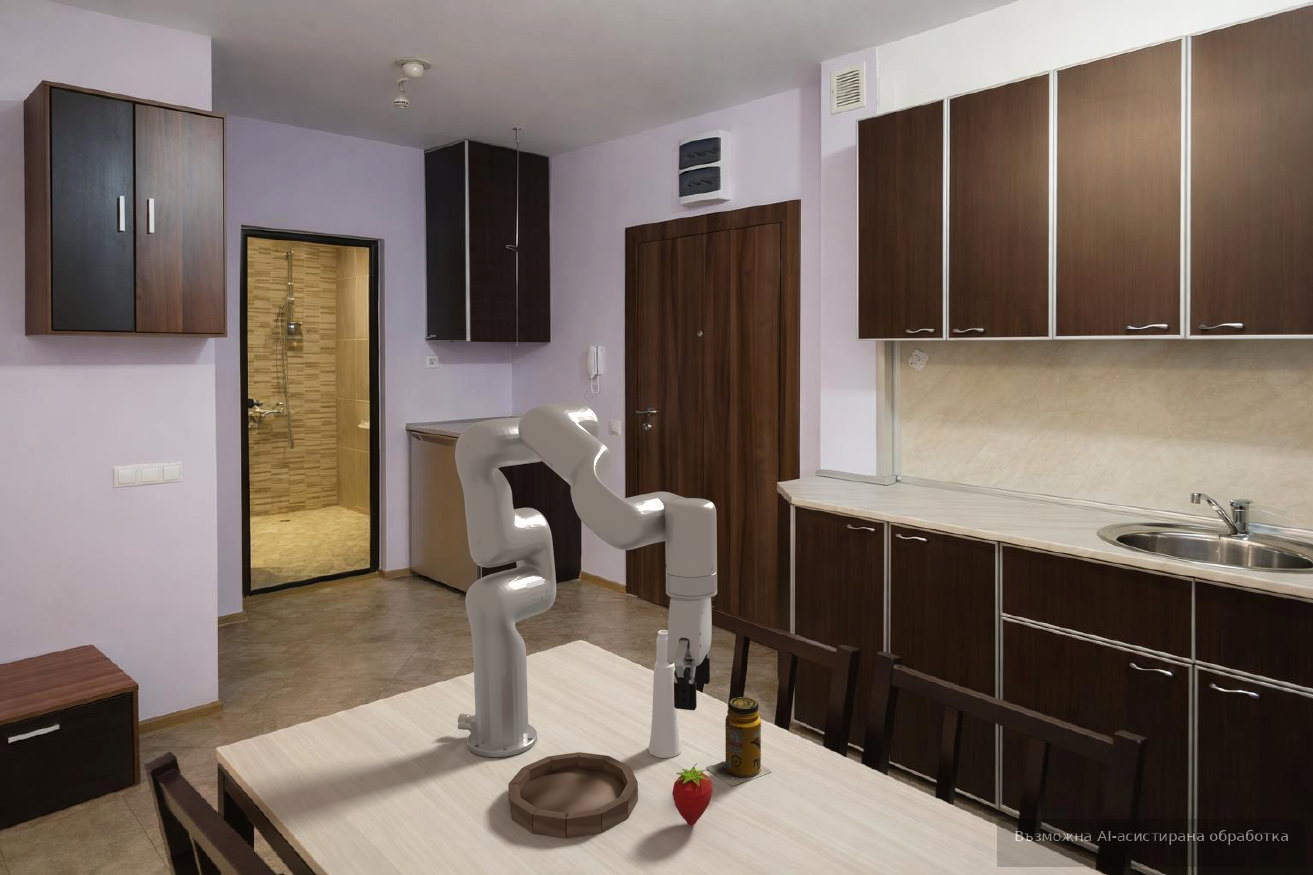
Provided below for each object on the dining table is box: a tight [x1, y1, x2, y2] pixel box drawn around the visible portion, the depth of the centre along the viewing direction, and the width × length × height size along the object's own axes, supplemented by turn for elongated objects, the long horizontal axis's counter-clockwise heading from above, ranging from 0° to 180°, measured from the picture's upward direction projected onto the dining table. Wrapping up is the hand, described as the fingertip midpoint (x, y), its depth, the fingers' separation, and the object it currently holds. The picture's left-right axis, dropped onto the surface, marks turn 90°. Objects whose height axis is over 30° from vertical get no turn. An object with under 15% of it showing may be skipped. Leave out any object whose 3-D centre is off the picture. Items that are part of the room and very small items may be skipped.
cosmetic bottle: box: [647, 629, 683, 759], centre depth 149 cm, size 6×6×22 cm
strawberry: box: [671, 762, 713, 827], centre depth 126 cm, size 6×8×10 cm
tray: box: [507, 751, 639, 839], centre depth 133 cm, size 20×20×3 cm
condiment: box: [706, 696, 772, 787], centre depth 142 cm, size 7×8×12 cm
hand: (692, 695), depth 124 cm, fingers open, 9 cm apart
